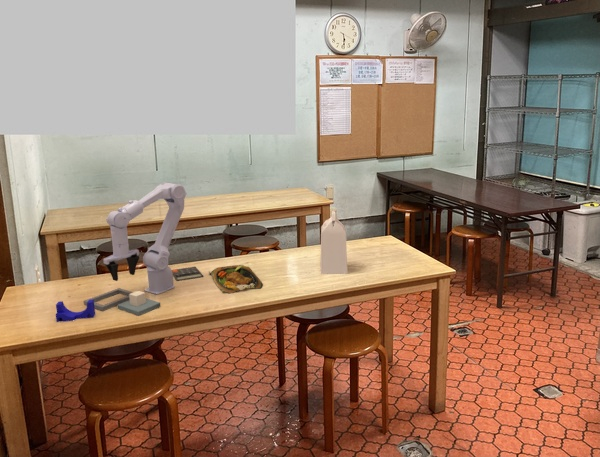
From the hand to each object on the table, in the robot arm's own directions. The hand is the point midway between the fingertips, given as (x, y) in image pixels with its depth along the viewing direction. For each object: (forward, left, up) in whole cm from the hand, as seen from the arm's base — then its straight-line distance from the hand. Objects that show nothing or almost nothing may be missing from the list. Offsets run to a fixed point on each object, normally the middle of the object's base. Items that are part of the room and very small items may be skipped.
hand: (124, 277), depth 198 cm
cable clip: (+20, -1, -10) cm, 23 cm away
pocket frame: (+4, -4, -9) cm, 11 cm away
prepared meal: (-40, +21, -10) cm, 46 cm away
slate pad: (+2, +10, -9) cm, 14 cm away
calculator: (-34, -3, -10) cm, 36 cm away
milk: (-73, +49, -10) cm, 88 cm away
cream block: (+2, +10, -8) cm, 13 cm away
